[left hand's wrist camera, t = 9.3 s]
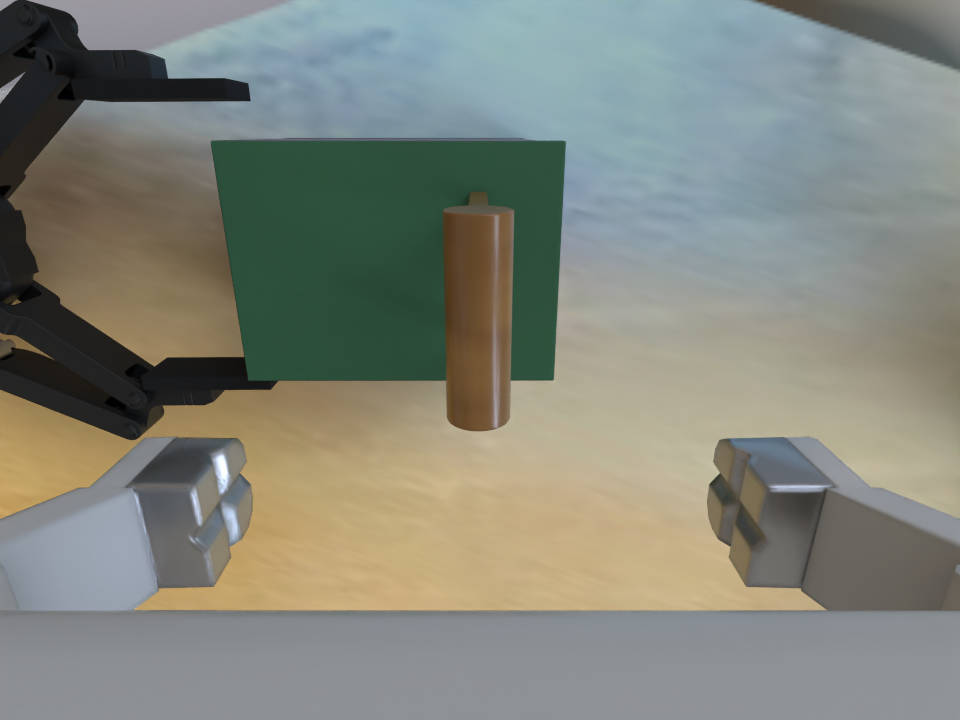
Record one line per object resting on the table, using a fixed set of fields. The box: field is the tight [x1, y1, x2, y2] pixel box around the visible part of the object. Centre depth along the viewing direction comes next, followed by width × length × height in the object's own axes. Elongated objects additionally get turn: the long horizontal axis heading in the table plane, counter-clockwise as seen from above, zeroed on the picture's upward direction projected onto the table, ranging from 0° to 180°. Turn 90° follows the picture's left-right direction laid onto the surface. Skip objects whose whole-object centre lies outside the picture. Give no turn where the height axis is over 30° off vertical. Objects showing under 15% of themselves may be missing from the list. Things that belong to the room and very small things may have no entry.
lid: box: [211, 141, 566, 431], centre depth 21 cm, size 14×10×9 cm
